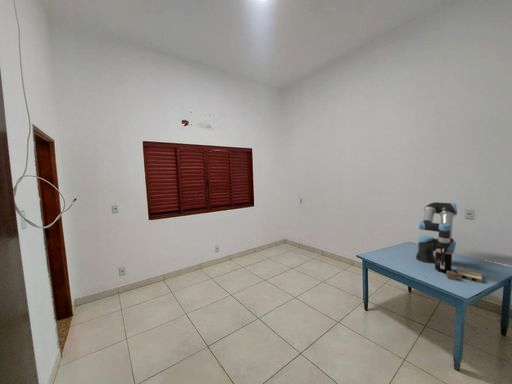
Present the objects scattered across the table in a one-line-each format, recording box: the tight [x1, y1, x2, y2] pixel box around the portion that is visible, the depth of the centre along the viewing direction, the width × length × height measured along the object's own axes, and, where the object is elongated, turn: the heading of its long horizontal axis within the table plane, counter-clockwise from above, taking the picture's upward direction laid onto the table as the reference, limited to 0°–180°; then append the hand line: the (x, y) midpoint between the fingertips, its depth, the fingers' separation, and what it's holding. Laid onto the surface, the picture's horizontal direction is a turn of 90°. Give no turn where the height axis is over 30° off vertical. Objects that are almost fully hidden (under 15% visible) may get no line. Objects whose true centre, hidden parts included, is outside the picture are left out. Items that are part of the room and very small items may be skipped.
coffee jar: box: [434, 249, 453, 274], centre depth 181 cm, size 11×11×18 cm
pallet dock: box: [456, 267, 483, 284], centre depth 170 cm, size 14×14×3 cm
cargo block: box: [445, 270, 458, 281], centre depth 169 cm, size 5×5×5 cm
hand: (443, 266), depth 181 cm, fingers closed on coffee jar, 10 cm apart
